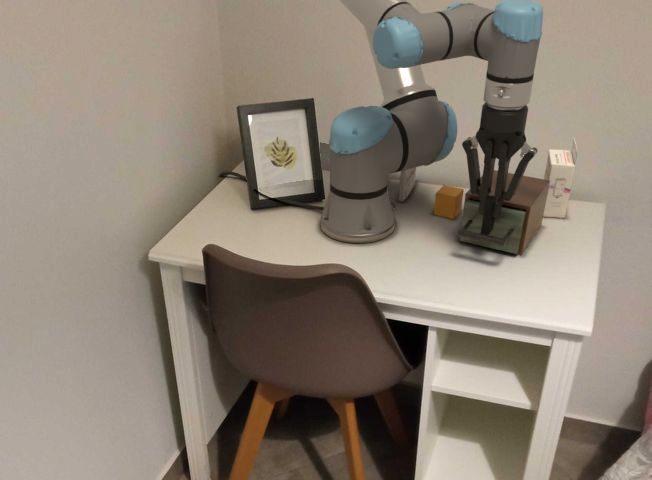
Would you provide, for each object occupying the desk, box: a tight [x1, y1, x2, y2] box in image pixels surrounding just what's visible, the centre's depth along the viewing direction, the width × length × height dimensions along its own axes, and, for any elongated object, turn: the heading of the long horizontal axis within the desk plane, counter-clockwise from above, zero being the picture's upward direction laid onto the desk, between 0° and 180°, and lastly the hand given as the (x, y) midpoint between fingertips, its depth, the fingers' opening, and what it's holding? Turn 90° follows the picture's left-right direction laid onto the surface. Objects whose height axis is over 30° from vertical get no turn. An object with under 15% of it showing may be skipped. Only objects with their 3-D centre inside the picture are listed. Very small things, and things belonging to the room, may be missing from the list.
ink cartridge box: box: [543, 136, 579, 219], centre depth 148 cm, size 9×5×15 cm, turn 168°
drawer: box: [456, 199, 526, 255], centre depth 137 cm, size 19×11×8 cm, turn 149°
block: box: [433, 184, 465, 219], centre depth 150 cm, size 4×4×5 cm
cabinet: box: [460, 169, 550, 256], centre depth 141 cm, size 14×13×10 cm
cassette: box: [398, 167, 417, 203], centre depth 158 cm, size 12×2×8 cm, turn 159°
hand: (486, 231), depth 132 cm, fingers closed
